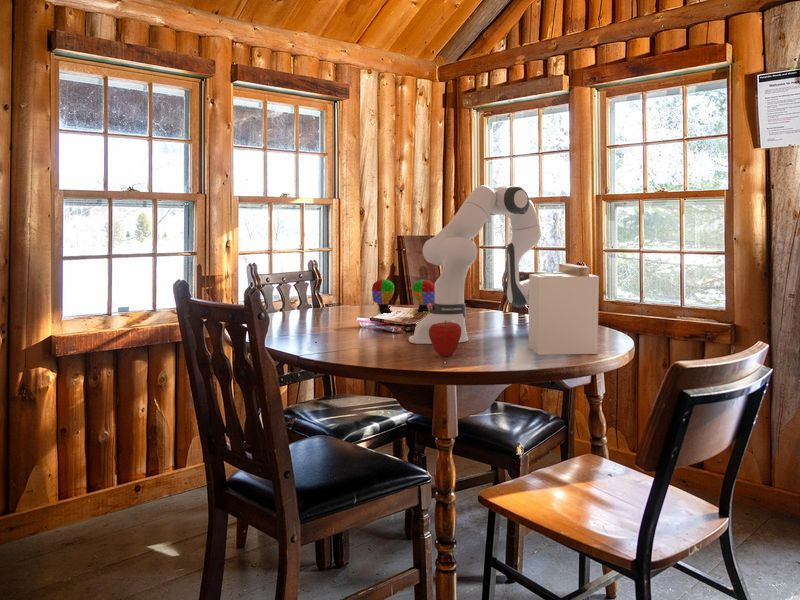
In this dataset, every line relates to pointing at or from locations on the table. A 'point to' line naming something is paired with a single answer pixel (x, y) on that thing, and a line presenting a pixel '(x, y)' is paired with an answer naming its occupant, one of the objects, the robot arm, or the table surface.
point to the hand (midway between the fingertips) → (559, 284)
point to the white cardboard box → (563, 314)
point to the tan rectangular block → (574, 269)
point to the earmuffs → (385, 291)
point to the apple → (445, 337)
